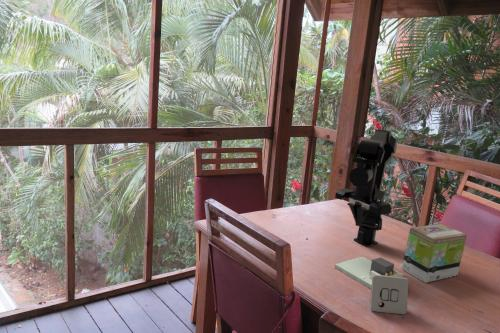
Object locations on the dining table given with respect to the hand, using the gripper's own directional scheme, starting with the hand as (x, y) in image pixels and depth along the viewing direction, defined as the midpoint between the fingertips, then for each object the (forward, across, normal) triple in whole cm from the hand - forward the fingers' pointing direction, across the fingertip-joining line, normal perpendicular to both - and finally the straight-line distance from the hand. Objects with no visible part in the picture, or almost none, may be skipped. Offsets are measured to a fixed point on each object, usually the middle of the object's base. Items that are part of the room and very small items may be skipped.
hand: (358, 225), depth 132 cm
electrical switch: (+12, -24, +15) cm, 31 cm away
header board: (+12, -10, +4) cm, 16 cm away
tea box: (+12, -18, -16) cm, 27 cm away
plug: (+11, -14, +4) cm, 18 cm away
